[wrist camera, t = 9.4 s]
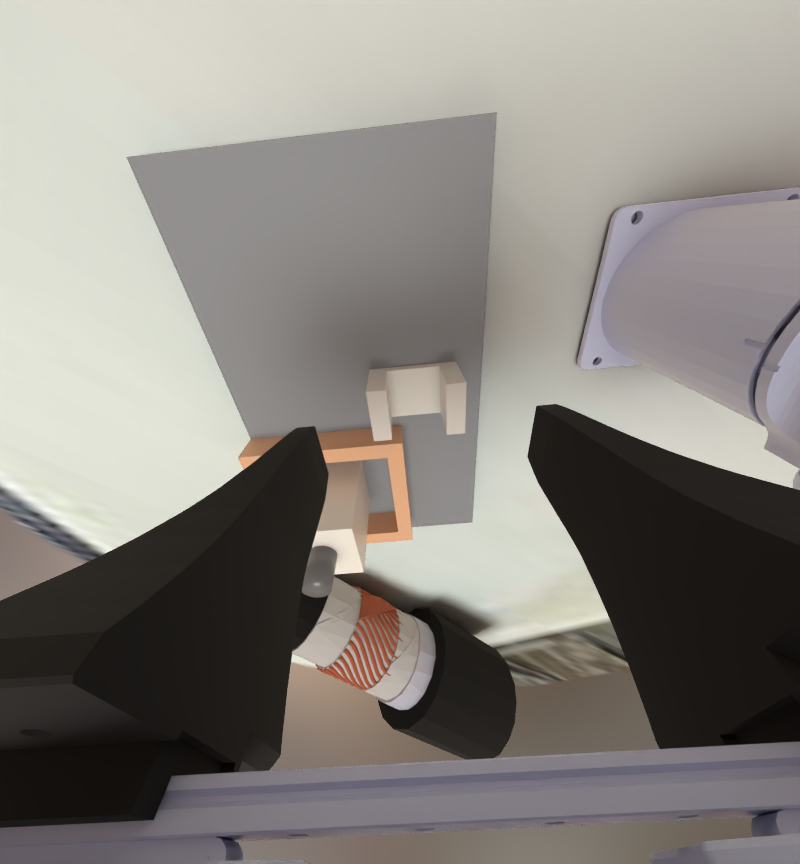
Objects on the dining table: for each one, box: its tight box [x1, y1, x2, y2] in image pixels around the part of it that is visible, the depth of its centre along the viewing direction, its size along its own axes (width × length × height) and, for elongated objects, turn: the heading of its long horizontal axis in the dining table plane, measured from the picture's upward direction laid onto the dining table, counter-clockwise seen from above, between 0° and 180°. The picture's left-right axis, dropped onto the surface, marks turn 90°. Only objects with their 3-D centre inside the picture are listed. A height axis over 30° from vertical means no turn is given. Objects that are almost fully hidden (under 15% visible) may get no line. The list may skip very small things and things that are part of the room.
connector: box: [302, 460, 370, 598], centre depth 19 cm, size 4×4×8 cm
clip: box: [366, 361, 467, 441], centre depth 17 cm, size 5×3×3 cm, turn 95°
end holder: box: [238, 426, 413, 543], centre depth 21 cm, size 10×9×2 cm
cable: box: [292, 576, 516, 760], centre depth 28 cm, size 10×34×10 cm, turn 46°
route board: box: [127, 112, 497, 527], centre depth 19 cm, size 15×24×1 cm, turn 5°
